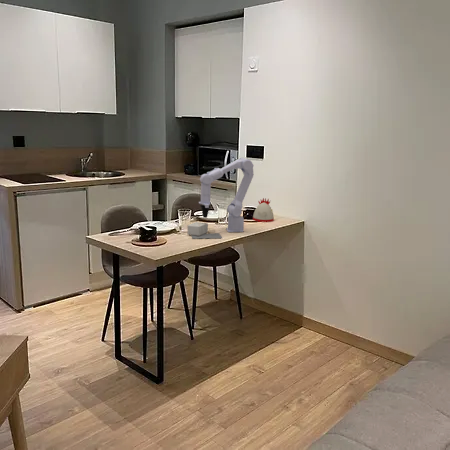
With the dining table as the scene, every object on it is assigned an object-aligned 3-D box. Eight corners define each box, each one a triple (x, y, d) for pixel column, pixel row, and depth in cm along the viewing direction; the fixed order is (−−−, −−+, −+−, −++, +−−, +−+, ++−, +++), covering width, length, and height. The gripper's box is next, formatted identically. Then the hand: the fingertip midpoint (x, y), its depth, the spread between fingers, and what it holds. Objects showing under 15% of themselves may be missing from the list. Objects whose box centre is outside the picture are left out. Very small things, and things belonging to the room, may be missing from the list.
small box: (196, 230, 284) (187, 234, 275) (196, 221, 283) (187, 225, 273) (208, 232, 280) (199, 236, 271) (208, 223, 279) (199, 226, 270)
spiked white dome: (271, 223, 312) (272, 200, 308) (250, 221, 315) (252, 198, 312) (275, 218, 325) (276, 197, 321) (255, 216, 328) (256, 195, 325)
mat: (219, 233, 280) (219, 233, 280) (222, 238, 270) (222, 237, 270) (190, 234, 277) (190, 233, 277) (192, 239, 267) (192, 238, 267)
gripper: (197, 192, 284) (196, 214, 287) (200, 197, 270) (199, 220, 273) (208, 192, 285) (208, 214, 288) (212, 197, 271) (212, 220, 275)
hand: (205, 217), depth 281 cm, fingers closed
